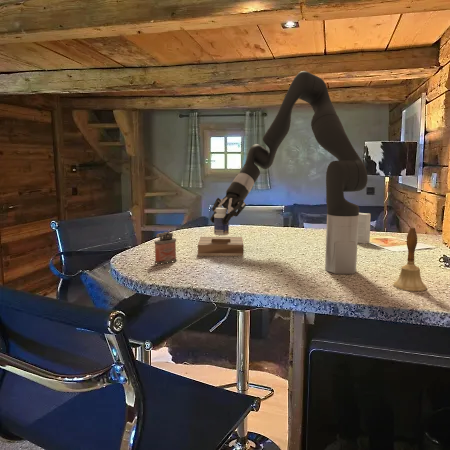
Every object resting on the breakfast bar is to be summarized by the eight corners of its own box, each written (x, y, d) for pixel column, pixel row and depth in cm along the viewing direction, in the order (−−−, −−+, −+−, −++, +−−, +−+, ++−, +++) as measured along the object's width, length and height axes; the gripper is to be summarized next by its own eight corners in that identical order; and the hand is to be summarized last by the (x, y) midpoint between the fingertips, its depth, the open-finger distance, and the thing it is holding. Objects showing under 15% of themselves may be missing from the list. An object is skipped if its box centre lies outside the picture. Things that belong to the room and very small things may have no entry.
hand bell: (393, 289, 112) (396, 229, 109) (392, 281, 119) (396, 224, 117) (427, 293, 109) (432, 231, 106) (425, 284, 117) (429, 226, 114)
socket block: (243, 256, 150) (243, 245, 149) (197, 256, 150) (197, 244, 149) (241, 247, 166) (242, 236, 165) (200, 246, 166) (200, 236, 165)
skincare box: (369, 242, 175) (371, 213, 173) (365, 244, 172) (366, 214, 170) (355, 240, 179) (357, 212, 177) (351, 242, 176) (352, 213, 174)
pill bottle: (227, 236, 154) (227, 209, 153) (212, 235, 155) (212, 208, 154) (230, 233, 159) (230, 207, 158) (216, 233, 160) (215, 207, 159)
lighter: (172, 259, 145) (171, 230, 144) (178, 261, 143) (178, 231, 141) (152, 263, 140) (152, 233, 138) (158, 265, 137) (158, 234, 136)
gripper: (222, 180, 164) (198, 214, 158) (249, 181, 154) (226, 218, 148) (231, 193, 169) (209, 226, 162) (259, 195, 159) (237, 231, 152)
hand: (217, 222), depth 155 cm, fingers closed on pill bottle, 5 cm apart
